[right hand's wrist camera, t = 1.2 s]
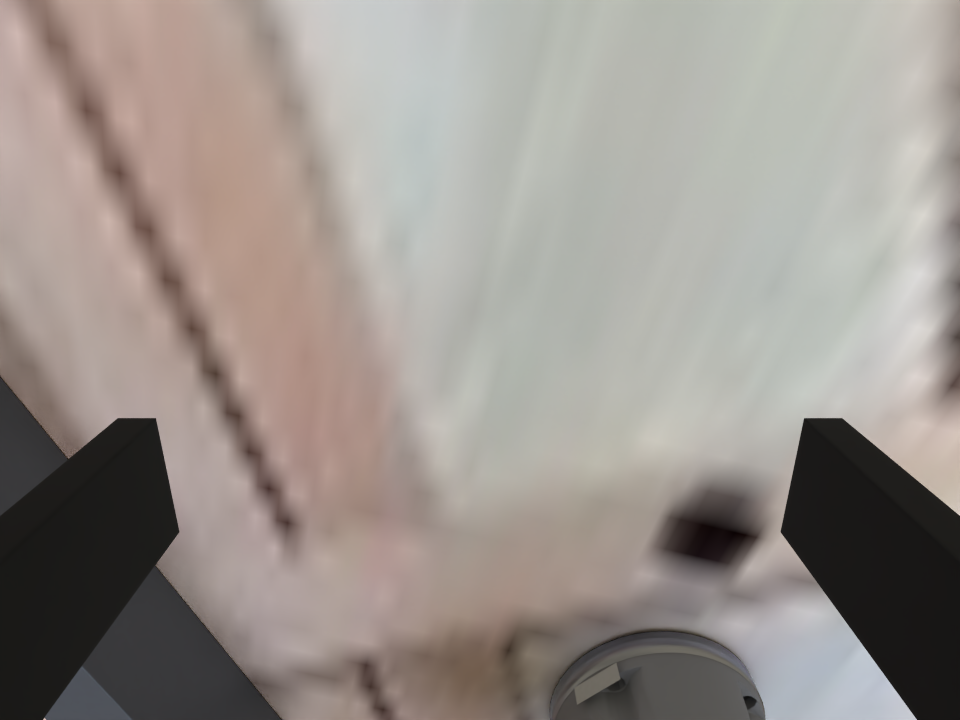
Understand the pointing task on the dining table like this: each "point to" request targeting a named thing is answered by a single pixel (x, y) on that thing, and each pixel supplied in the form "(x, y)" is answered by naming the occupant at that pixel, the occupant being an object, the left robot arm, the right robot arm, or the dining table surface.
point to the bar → (131, 623)
